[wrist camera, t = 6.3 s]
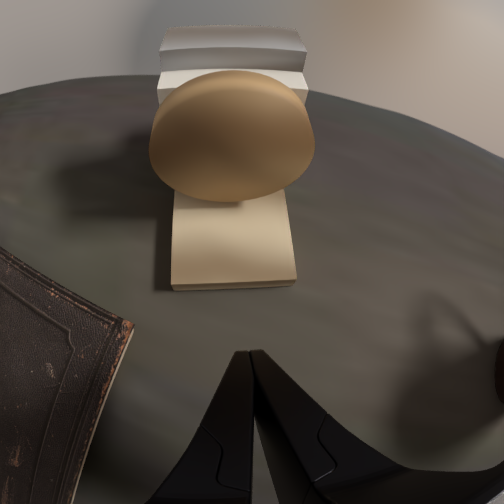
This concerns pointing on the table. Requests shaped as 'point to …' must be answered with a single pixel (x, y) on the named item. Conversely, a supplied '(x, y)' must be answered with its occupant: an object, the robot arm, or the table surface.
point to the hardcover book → (50, 382)
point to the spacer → (179, 77)
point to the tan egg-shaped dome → (231, 137)
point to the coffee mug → (500, 373)
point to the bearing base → (239, 212)
